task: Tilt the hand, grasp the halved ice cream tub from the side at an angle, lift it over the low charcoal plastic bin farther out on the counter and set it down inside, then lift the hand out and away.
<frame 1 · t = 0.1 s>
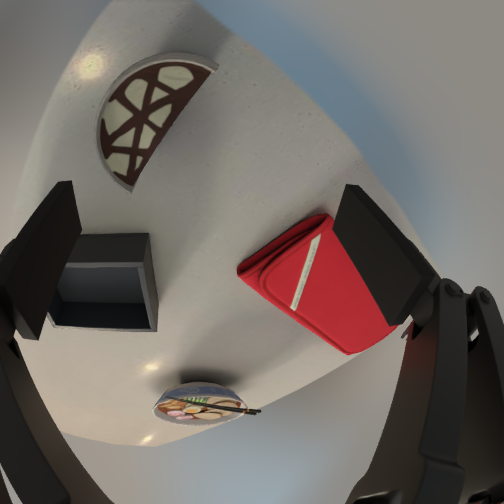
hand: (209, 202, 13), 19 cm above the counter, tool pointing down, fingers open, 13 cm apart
ramen bowl: (197, 386, 65), on the counter
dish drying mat: (338, 299, 51), on the counter
halved ice cream tub: (154, 95, 25), on the counter
bin: (97, 272, 37), on the counter
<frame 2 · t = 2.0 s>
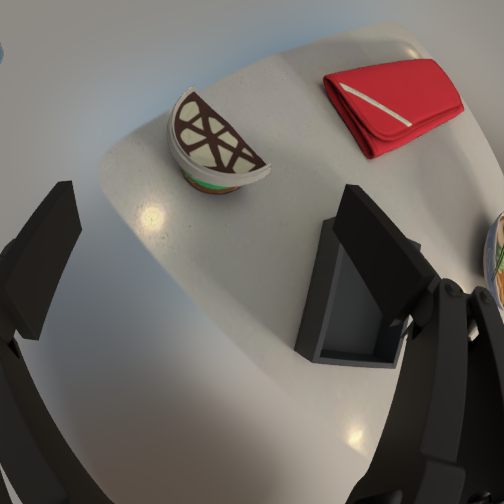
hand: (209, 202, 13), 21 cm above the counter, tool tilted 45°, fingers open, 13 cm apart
ramen bowl: (489, 263, 48), on the counter
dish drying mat: (407, 98, 44), on the counter
halved ice cream tub: (199, 173, 34), on the counter
bin: (351, 295, 38), on the counter
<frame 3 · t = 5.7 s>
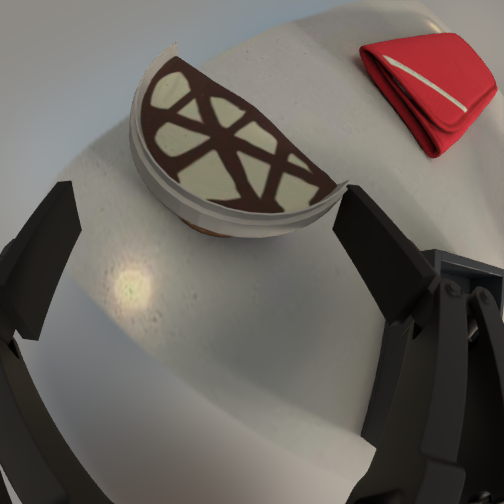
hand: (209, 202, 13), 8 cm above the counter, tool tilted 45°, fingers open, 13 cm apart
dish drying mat: (446, 78, 31), on the counter
halved ice cream tub: (200, 203, 21), on the counter, touching gripper
bin: (428, 349, 24), on the counter
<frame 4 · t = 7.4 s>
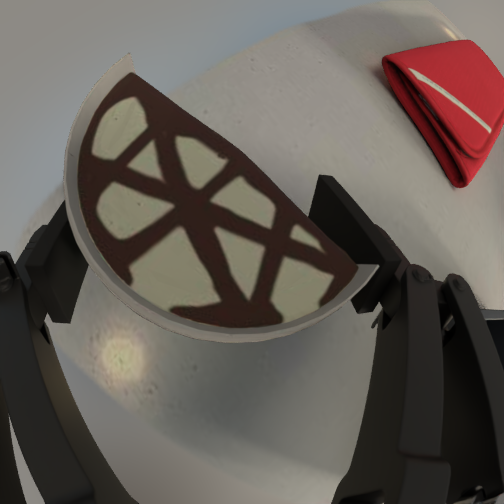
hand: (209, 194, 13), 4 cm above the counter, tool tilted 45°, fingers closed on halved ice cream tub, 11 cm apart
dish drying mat: (465, 90, 28), on the counter
halved ice cream tub: (182, 252, 17), on the counter, touching gripper
bin: (441, 395, 21), on the counter
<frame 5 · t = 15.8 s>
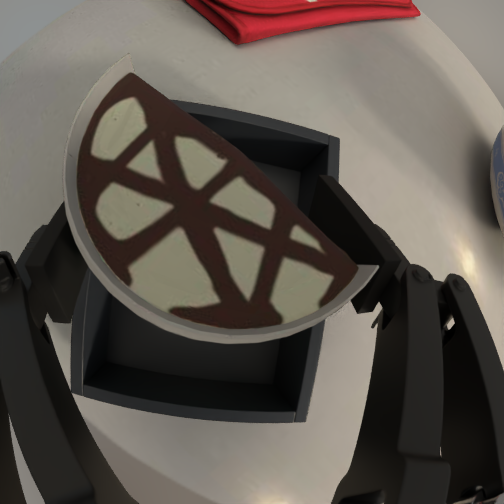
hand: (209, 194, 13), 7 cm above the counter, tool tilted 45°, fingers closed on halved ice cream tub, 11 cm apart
ramen bowl: (502, 208, 29), on the counter
halved ice cream tub: (182, 252, 17), point 2 cm above the counter, touching gripper
bin: (204, 263, 20), on the counter
when the fingers open (7 cm above the counter, at t = 16.5 s): halved ice cream tub drops 1 cm, resting on bin.
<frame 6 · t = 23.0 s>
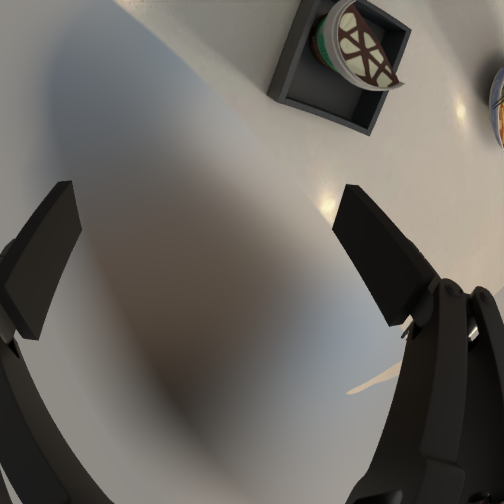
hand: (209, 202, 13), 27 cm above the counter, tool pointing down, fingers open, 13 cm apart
ramen bowl: (498, 99, 35), on the counter
halved ice cream tub: (325, 51, 30), resting on bin
bin: (332, 56, 31), on the counter
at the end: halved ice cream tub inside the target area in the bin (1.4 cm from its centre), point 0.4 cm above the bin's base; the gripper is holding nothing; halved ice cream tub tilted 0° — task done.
